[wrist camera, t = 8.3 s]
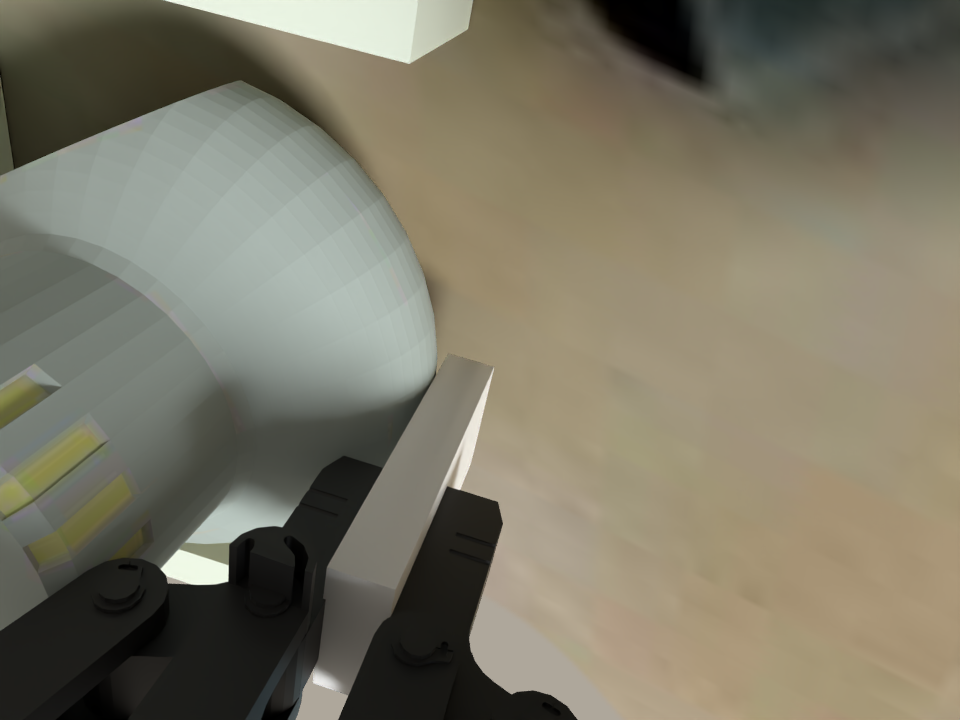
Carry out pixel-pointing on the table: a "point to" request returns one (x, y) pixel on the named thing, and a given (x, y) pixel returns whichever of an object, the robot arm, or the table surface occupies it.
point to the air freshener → (193, 335)
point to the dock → (337, 20)
